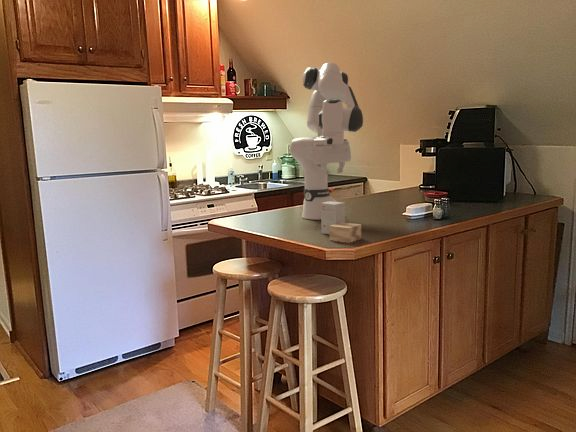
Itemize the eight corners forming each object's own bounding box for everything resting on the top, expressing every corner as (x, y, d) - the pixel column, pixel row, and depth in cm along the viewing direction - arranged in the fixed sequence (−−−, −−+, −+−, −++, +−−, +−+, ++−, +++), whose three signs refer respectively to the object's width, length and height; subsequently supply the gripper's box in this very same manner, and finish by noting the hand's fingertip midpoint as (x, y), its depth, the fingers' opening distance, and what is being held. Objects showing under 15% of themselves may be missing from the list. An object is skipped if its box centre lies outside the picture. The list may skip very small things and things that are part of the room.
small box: (345, 233, 218) (345, 202, 215) (336, 235, 213) (336, 204, 211) (330, 231, 223) (330, 200, 221) (320, 233, 218) (320, 202, 216)
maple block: (342, 236, 212) (342, 222, 211) (361, 239, 207) (361, 224, 206) (329, 240, 206) (329, 225, 205) (348, 243, 200) (348, 228, 199)
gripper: (342, 138, 221) (342, 171, 223) (310, 140, 206) (310, 175, 209) (354, 139, 216) (354, 172, 219) (322, 140, 202) (322, 176, 204)
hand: (332, 173), depth 214 cm, fingers open, 8 cm apart
